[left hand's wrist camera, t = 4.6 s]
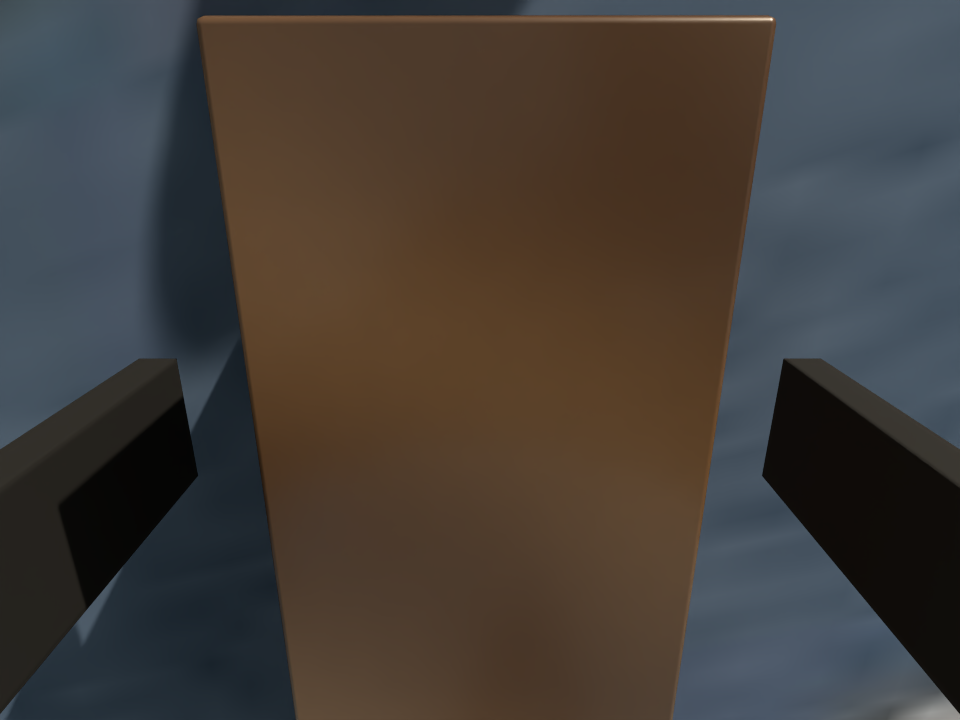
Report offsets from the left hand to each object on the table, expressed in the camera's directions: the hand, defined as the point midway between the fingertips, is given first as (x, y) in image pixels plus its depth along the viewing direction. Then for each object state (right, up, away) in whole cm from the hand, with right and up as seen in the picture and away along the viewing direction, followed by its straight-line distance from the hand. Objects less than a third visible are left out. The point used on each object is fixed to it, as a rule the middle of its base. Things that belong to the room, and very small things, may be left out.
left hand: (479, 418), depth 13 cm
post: (0, -20, +10) cm, 22 cm away
